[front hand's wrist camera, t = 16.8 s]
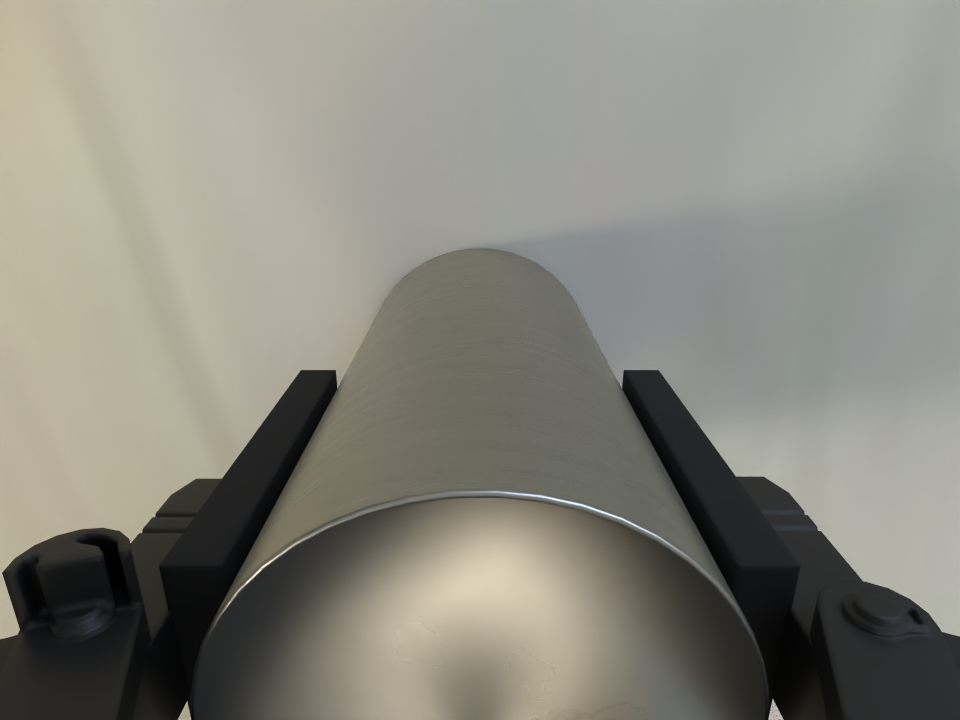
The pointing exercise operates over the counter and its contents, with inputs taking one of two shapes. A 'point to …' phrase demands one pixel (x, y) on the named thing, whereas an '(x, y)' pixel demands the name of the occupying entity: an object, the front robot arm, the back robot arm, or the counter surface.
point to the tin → (479, 536)
